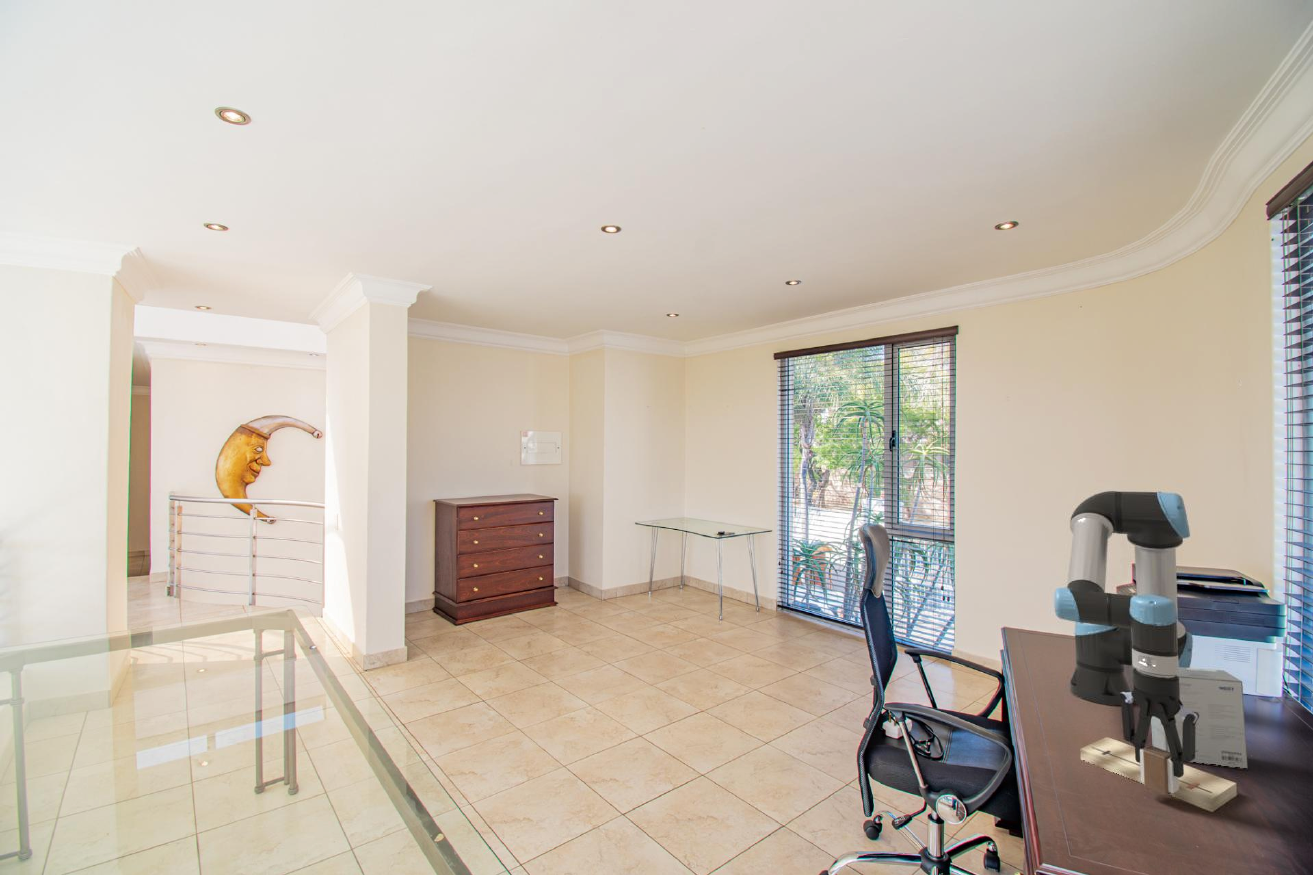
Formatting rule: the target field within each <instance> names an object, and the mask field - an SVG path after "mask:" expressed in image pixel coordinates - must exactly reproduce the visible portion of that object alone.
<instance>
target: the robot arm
mask: <svg viewBox="0 0 1313 875" xmlns="http://www.w3.org/2000/svg"><path fill="white" fill-rule="evenodd" d="M1069 529H1070V532H1071V533H1072V534H1073V535H1072V541H1071V549H1070V550H1071V551H1070V558H1069V565H1068V566H1069V567H1068V574H1067V583H1066V584H1067V585H1066V587H1057V588H1056V589H1055V591H1054V600H1053V601H1054V602H1053V603H1054V612H1055V616H1056V617H1057V618H1059V619H1060V620H1064V621H1069V622H1074V632H1073V633H1074V635H1075V636H1074V639H1075V640H1074V641H1075V668H1074V671H1073V673H1072V676H1071V678H1070V680H1069V690H1070V692H1071V693H1072V694H1073V693H1074V694H1075V696H1076V695H1077V696H1076V697H1078V698H1080V697H1081V698H1080V699H1083V700H1085V699H1086V701H1089V702H1092V701H1093V702H1092V703H1097V704H1100V705H1101V704H1103V705H1108V706H1120V707H1121V719H1122V720H1121V721H1122V722H1121V723H1122V734H1123V739H1124V740H1125V741H1126V742H1129V743H1131V744H1132V746H1133V747H1135V759H1136V762H1139V763H1140V768H1141V781H1143V782H1144V759H1143V750H1144V749H1147V748H1149V747H1150V746H1147V744H1148V742H1147V741H1148V736H1149V732H1150V727H1151V724H1152V723H1151V718H1152V717H1153V716H1154V717H1156V718H1158V719H1160V721H1161V724H1162V725H1163V727H1164V731H1165V735H1166V739H1167V743H1168V746H1169V750H1170V754H1171V758H1169V759H1167V769H1168V792H1171V793H1174V792H1176V791H1178V790H1179V778H1180V777H1182V776H1183V775H1184V766H1183V764H1184V762H1185V763H1191V762H1190V761H1192V760H1194V759H1195V728H1196V722H1197V720H1198V718H1199V714H1198V713H1197V712H1191V711H1189V710H1188V709H1186V708H1185V707H1183V704H1182V702H1181V701H1180V687H1179V677H1178V676H1177V674H1179V667H1182V668H1191V663H1192V657H1193V647H1194V646H1193V644H1194V638H1193V634H1192V633H1191V632H1188V631H1186V627H1185V626H1184V625H1183V624H1182V623H1181V621H1179V617H1178V616H1179V614H1178V613H1179V612H1178V610H1179V609H1178V582H1177V555H1176V554H1177V551H1176V550H1177V548H1179V547H1180V546H1182V545H1183V543H1184V540H1183V539H1188V538H1190V537H1191V532H1190V531H1191V530H1190V525H1189V521H1188V515H1187V511H1186V507H1185V502H1184V499H1183V496H1181V495H1180V494H1178V493H1173V492H1164V491H1163V492H1162V491H1116V490H1106V491H1101V492H1099V493H1095V494H1094V495H1091V496H1089V497H1087V498H1086V499H1085V500H1083V501H1082V502H1080V504H1079V505H1078V506H1077V507H1076V508H1075V509H1074V510H1073V513H1072V514H1071V516H1070V522H1069ZM1113 534H1118V535H1120V534H1121V535H1126V537H1127V538H1126V539H1127V541H1128V543H1130V544H1132V545H1133V546H1134V562H1135V580H1136V581H1135V582H1136V584H1135V585H1136V595H1130V594H1122V593H1121V594H1119V593H1111V592H1106V582H1107V581H1106V578H1107V562H1108V559H1107V558H1108V546H1109V545H1108V543H1109V539H1110V538H1111V537H1112V535H1113ZM1125 666H1131V667H1133V669H1132V685H1133V688H1132V689H1131V686H1130V683H1129V680H1128V679H1127V677H1126V674H1125ZM1074 694H1073V695H1074ZM1134 701H1135V703H1136V704H1137V705H1138V707H1139V713H1138V717H1139V718H1138V721H1137V726H1136V723H1135V711H1134ZM1178 712H1180V713H1181V717H1182V719H1183V720H1184V721H1183V734H1182V746H1181V743H1180V739H1179V735H1178V732H1177V728H1176V719H1175V715H1176V714H1177V713H1178ZM1178 777H1179V778H1178Z"/></svg>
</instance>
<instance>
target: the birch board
mask: <svg viewBox="0 0 1313 875" xmlns="http://www.w3.org/2000/svg"><path fill="white" fill-rule="evenodd" d="M1079 752H1080V760H1081V761H1083V760H1085V761H1084V762H1085V763H1088V762H1089V763H1088V764H1091V765H1093V764H1095V765H1094V766H1095V767H1098V766H1099V768H1101V769H1103V768H1104V769H1103V770H1107V771H1108V772H1111V773H1113V772H1114V773H1113V774H1116V773H1117V775H1118V774H1119V776H1121V775H1122V777H1123V776H1124V778H1126V777H1127V778H1126V779H1128V778H1130V779H1129V780H1131V779H1133V780H1135V781H1134V782H1136V781H1138V782H1140V783H1139V784H1141V783H1142V784H1141V785H1143V784H1144V782H1143V781H1141V768H1140V763H1139V762H1136V759H1135V746H1134V745H1131V744H1128V743H1125V742H1122V741H1119V740H1116V739H1114V738H1111V737H1108V736H1106V737H1103V738H1102V739H1099V740H1097V741H1094V742H1093V743H1090V744H1088V745H1086V746H1084V747H1081V748H1080V751H1079ZM1183 766H1184V775H1183V776H1182V777H1180V778H1179V777H1178V778H1179V790H1178V791H1176V792H1174V793H1172V794H1170V795H1169V796H1171V795H1172V796H1171V797H1174V798H1176V799H1179V800H1181V801H1183V802H1187V804H1188V803H1189V804H1191V805H1193V806H1195V807H1198V808H1200V809H1203V810H1206V811H1207V812H1208V811H1209V812H1211V813H1213V812H1214V811H1216V810H1217V809H1219V808H1220V807H1222V806H1224V805H1225V804H1226V803H1228V802H1229V801H1231V800H1232V799H1234V798H1235V797H1236V796H1238V793H1237V791H1238V790H1237V782H1234V781H1232V780H1231V781H1230V780H1228V779H1226V778H1223V777H1220V776H1218V775H1215V774H1212V773H1209V772H1206V771H1202V770H1200V769H1198V768H1194V767H1192V766H1189V765H1186V764H1185V763H1183ZM1133 780H1132V781H1133ZM1138 782H1137V783H1138Z"/></svg>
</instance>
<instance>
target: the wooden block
mask: <svg viewBox="0 0 1313 875" xmlns="http://www.w3.org/2000/svg"><path fill="white" fill-rule="evenodd" d="M1148 747H1149V748H1147V749H1144V750H1143V759H1144V785H1143V786H1144V788H1145V789H1147V790H1149V791H1150V792H1151V791H1152V792H1154V793H1156V794H1159V795H1162V796H1164V797H1168V796H1171V795H1170V794H1172V793H1171V792H1168V769H1167V759H1169V758H1171V754H1170V752H1168V751H1165V750H1162V749H1159V748H1157V747H1154V746H1153V745H1151V746H1148Z"/></svg>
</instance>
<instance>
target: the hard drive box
mask: <svg viewBox="0 0 1313 875" xmlns="http://www.w3.org/2000/svg"><path fill="white" fill-rule="evenodd" d="M1177 676H1178V677H1179V687H1180V701H1181V702H1182V704H1183V707H1185V708H1186V709H1188V710H1189V711H1191V712H1197V713H1198V714H1199V718H1198V720H1197V722H1196V728H1195V759H1194V760H1192V761H1190V762H1189V763H1193V762H1196V763H1195V764H1202V763H1204V765H1210V764H1216V765H1215V766H1218V765H1221V766H1220V767H1224V766H1229V767H1228V768H1235V767H1240V768H1239V769H1243V768H1247V769H1248V758H1247V757H1248V756H1247V741H1246V725H1245V724H1246V723H1245V709H1244V708H1245V706H1244V688H1243V687H1244V686H1243V681H1242V680H1241V679H1239V678H1237V677H1235V676H1233V675H1232V674H1230V673H1229V672H1227V671H1226V670H1220V669H1219V670H1218V669H1206V668H1196V667H1195V668H1194V667H1193V668H1192V667H1190V668H1182V667H1179V674H1177ZM1175 719H1176V728H1177V732H1178V735H1179V739H1180V743H1181V746H1182V734H1183V721H1184V720H1183V719H1182V717H1181V713H1180V712H1178V713H1177V714H1176V715H1175ZM1150 724H1151V734H1152V736H1151V738H1152V746H1154V747H1157V748H1159V749H1162V750H1165V751H1168V752H1170V750H1169V746H1168V743H1167V739H1166V735H1165V731H1164V727H1163V725H1162V724H1161V721H1160V719H1158V718H1156V717H1154V716H1153V717H1152V718H1151V723H1150Z"/></svg>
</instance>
